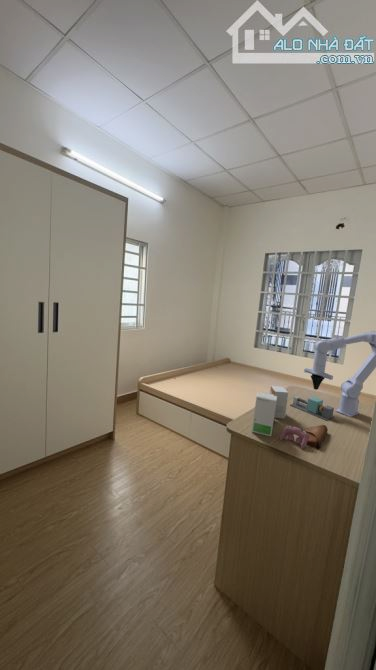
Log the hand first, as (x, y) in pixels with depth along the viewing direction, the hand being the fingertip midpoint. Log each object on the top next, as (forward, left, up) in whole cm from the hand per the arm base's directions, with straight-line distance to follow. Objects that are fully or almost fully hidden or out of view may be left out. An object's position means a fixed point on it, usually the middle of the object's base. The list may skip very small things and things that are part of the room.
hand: (315, 389), depth 145 cm
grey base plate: (+5, +2, -10) cm, 12 cm away
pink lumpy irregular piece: (+42, +16, -11) cm, 46 cm away
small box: (+26, -4, -11) cm, 28 cm away
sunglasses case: (+31, +18, -11) cm, 37 cm away
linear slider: (+5, +2, -10) cm, 12 cm away
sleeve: (+5, +3, -10) cm, 12 cm away
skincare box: (+46, +4, -11) cm, 47 cm away
